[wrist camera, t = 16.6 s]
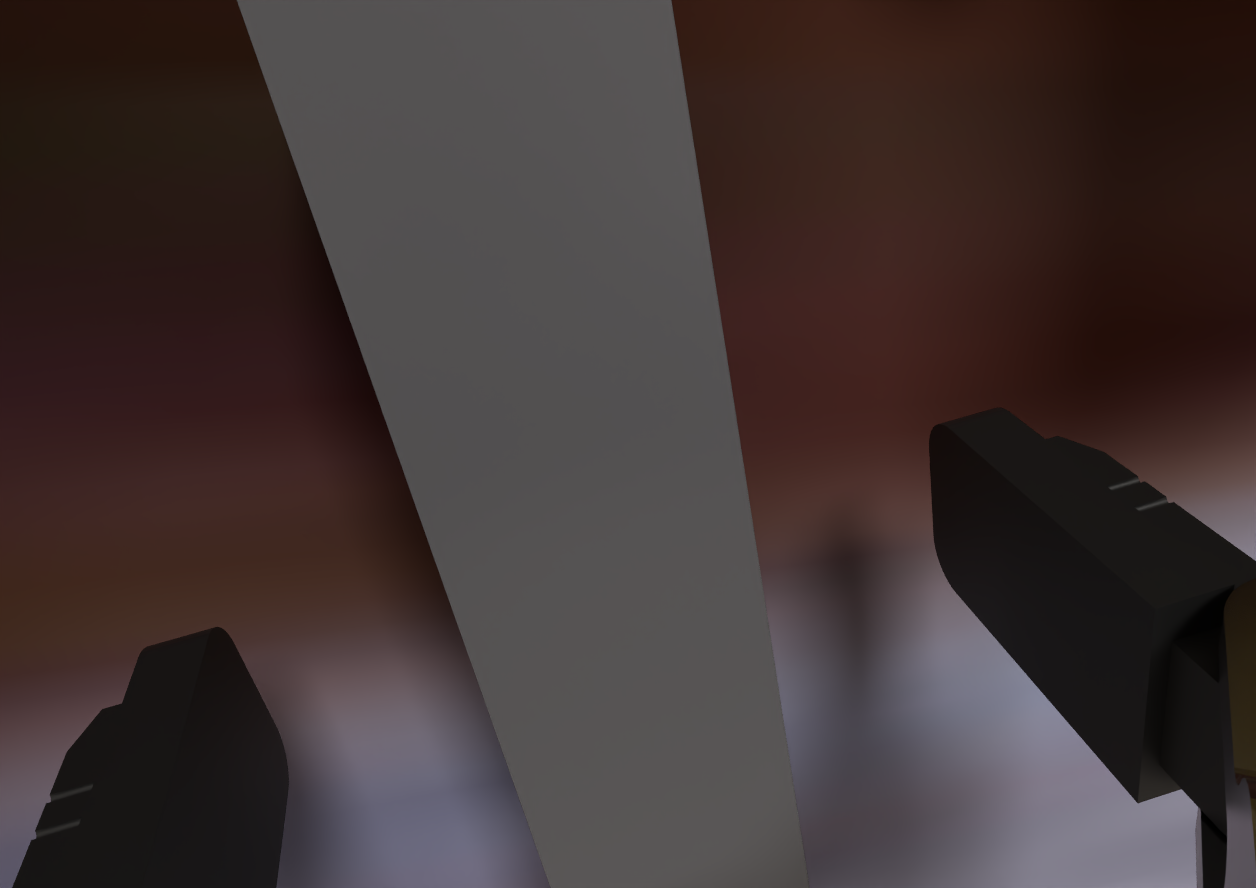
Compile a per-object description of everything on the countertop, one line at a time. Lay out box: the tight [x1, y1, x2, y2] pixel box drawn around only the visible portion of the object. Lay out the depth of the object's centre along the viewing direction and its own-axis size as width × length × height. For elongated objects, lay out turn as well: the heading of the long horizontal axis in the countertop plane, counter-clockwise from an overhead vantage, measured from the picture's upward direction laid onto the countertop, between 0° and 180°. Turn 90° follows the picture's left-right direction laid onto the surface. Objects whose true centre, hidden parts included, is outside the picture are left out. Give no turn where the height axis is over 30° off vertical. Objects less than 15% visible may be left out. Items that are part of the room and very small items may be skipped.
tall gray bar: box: [237, 0, 809, 888], centre depth 11 cm, size 12×3×4 cm, turn 11°
